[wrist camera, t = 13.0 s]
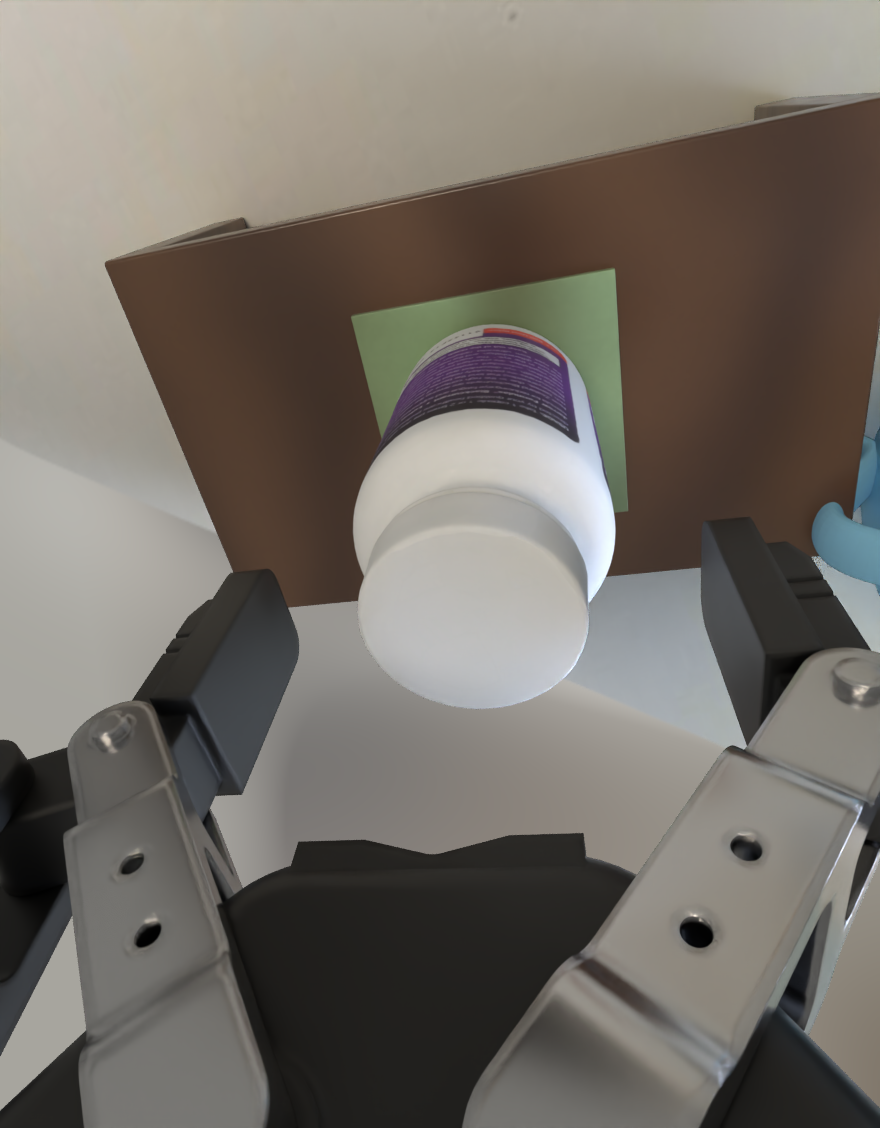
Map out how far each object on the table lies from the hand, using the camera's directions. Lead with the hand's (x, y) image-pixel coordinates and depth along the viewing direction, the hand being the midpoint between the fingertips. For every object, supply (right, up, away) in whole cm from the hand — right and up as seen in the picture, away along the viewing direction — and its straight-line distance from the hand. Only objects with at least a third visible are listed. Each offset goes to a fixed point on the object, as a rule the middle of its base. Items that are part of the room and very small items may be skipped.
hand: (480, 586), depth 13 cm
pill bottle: (+1, +5, +7) cm, 9 cm away
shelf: (+2, +9, +14) cm, 17 cm away
